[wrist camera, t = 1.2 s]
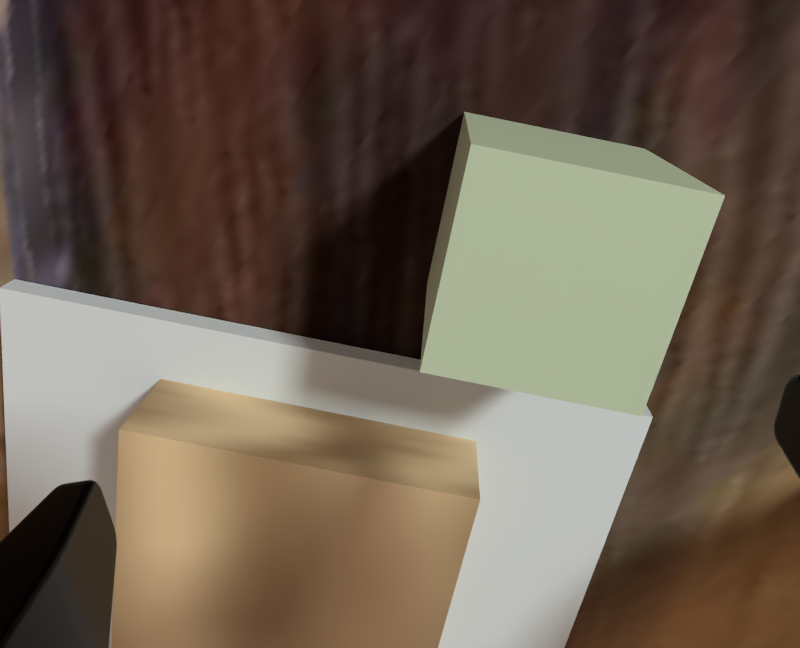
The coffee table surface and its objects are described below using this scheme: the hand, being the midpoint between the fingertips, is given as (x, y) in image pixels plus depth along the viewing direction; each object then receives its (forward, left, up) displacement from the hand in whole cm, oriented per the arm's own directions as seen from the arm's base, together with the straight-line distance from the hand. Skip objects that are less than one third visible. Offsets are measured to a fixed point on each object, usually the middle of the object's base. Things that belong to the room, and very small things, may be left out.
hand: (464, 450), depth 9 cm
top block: (-2, 0, -12) cm, 12 cm away
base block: (+3, +12, -11) cm, 16 cm away
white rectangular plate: (+3, +12, -12) cm, 17 cm away
